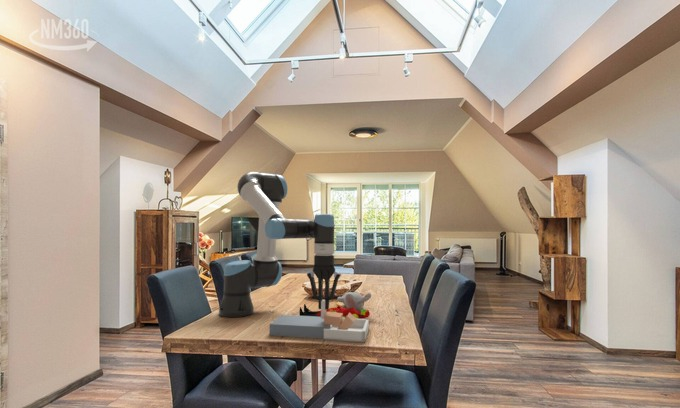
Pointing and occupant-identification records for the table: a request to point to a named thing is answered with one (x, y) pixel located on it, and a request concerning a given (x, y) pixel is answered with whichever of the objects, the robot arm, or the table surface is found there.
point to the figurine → (337, 310)
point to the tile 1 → (333, 318)
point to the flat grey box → (298, 326)
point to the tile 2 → (347, 322)
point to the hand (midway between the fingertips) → (323, 317)
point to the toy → (354, 300)
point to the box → (349, 332)
